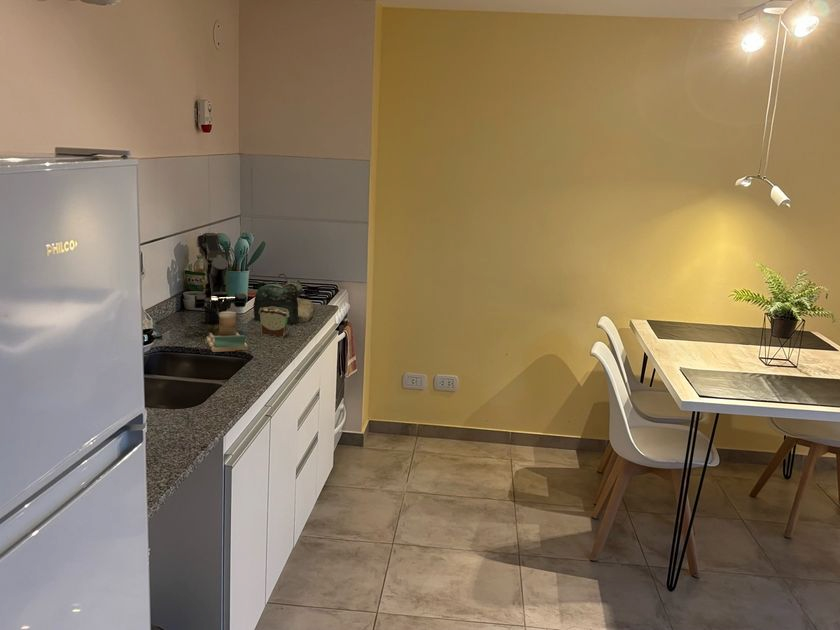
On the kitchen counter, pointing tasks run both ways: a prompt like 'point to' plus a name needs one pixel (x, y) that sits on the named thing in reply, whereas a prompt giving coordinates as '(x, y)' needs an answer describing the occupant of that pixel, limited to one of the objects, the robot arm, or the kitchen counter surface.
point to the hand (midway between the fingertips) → (222, 320)
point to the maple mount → (227, 342)
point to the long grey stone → (304, 309)
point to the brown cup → (227, 323)
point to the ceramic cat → (279, 298)
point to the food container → (273, 321)
